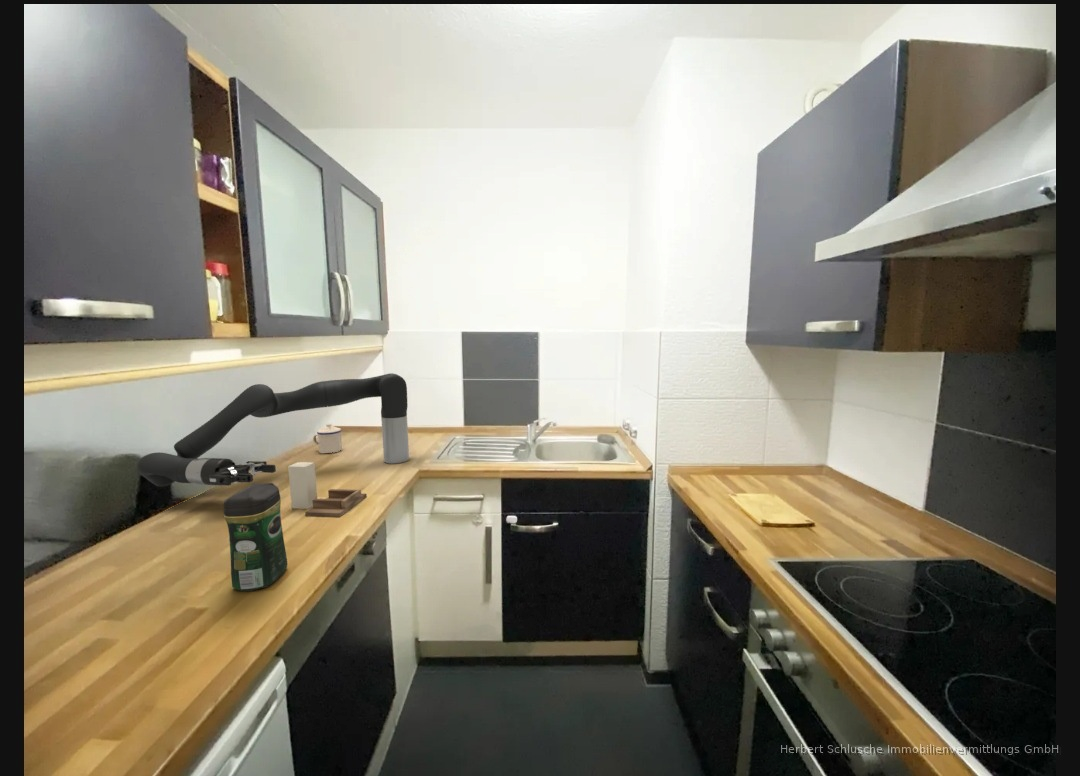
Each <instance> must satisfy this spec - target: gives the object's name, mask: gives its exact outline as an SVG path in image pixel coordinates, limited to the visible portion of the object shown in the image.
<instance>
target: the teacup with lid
mask: <svg viewBox="0 0 1080 776" xmlns="http://www.w3.org/2000/svg"><path fill="white" fill-rule="evenodd" d="M317 439H318V441H317ZM312 442H313V443H314V444H315V445H316V446H318V452H319V454H321V453H332V452H337V453H339V452H338V451H340V450H341V451H343V441H342V428H340V427H336V426H335V425H333V424H332V423H326V426H323V427H322V428H320V429H318V430H317V432H316V434H314V435H313V437H312ZM341 451H340V452H341ZM332 454H333V453H332Z"/></svg>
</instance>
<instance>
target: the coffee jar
mask: <svg viewBox="0 0 1080 776" xmlns="http://www.w3.org/2000/svg"><path fill="white" fill-rule="evenodd" d="M281 501H282V500H281V495H280V489H279V487H278V486H277V485H276V484H274V483H273V482H262V483H261V482H258V483H257V482H255V483H252V484H251V485H248V486H247V487H245V488H243V489H241V490H239V491H238V492H236V493H234V494H233V495H231V496H229V497H227V498H226V499H224V501H223V504H222V506H223V517H224V520H225V522H226V525H227V529H228V539H229V541H228V542H229V552H230V553H229V555H230V576H231V579H230V580H231V587H232V588H233V589H234V590H237V591H241V592H252V591H253V590H254V591H256V590H259V589H264V588H267V587H268V586H270V585H272V584H273V583H274V582H276V581H277V580H278V579H279V578H280V577H281V576H282V574H283V573H284V572H285V571H286V570H287V567H288V558H287V551H286V544H285V539H284V532H283V526H282V518H281V517H282V516H281Z"/></svg>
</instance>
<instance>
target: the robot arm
mask: <svg viewBox="0 0 1080 776" xmlns="http://www.w3.org/2000/svg"><path fill="white" fill-rule="evenodd" d="M407 385H408V384H407V382H406V380H405V378H403V377H402V376H401V375H399V374H396V373H393V372H391V373H386V374H381V375H376V376H371V377H368V378H347V379H346V378H344V379H343V378H342V379H330V380H322V381H321V380H320V381H318V382H314V383H311V384H309V385H306V386H304V387H301V388H298V389H296V390H293V391H286V392H284V391H283V392H274V390H273V389H272V387H270V386H269V385H266V384H261V383H260V384H257V383H256V384H253V385H251V386H249V387H247V388H246V389H245V390H243V391H242V392H240V394H239V395H237V396H236V397H235V398H234V399H233V400H232V401H231V402H230V403H228V404H227V405H226V406H225V407H224V408H223V409H222V410H220V411H219V412H218V413H217V414H216V415H214V416H213V417H212V418H210V419H209V420H208V421H206V422H205V423H204V424H202V425H201V426H199V427H198V428H196V429H194V431H192V432H190V433H189V434H187V435H186V436H184V437H182V438H181V439H180V440H178V441H177V442H176V443H175V444H174V445H173V449H174V451H175V452H176V455H175V454H171V453H167V452H151V453H148V454H145V455H143V456H141V458H139V459H138V461H137V463H136V466H135V468H136V471H137V473H138V474H139V475H141V476H142V477H143V478H144V479H146V480H147V481H148V482H150V483H151V484H153V485H154V486H155V487H166V486H169V485H171V484H174V483H175V482H177V483H179V484H180V483H181V484H196V485H201V486H203V485H204V486H205V485H206V486H231V485H232V484H239V483H248V484H250V483H252V482H253V481H254V478H253V477H254V476H255V475H256V474H259V473H261V474H262V473H264V474H266V473H268V474H269V473H270V474H274V473H275V472H276V471H277V470H276V469H277V468H276V465H275V464H267V461H263V460H262V461H260V460H258V461H256V460H254V461H250V460H249V461H246V463H242V462H241V463H235V462H234V461H233V460H232V459H230V458H224V457H223V458H219V457H218V458H217V457H203V458H202V457H201V456H202V455H204V454H205V453H207V452H209V451H210V450H211V449H213V448H214V447H215V446H217V444H219V443H220V442H221V441H222V440H223V439H224V438H225V437H226V436H227V434H228V433H229V432H230V431H231V430H232V429H233V428H235V426H236V425H238V423H240V422H241V421H242V420H244V419H245V418H247V417H249V416H251V417H255V418H261V419H262V418H268V417H273V416H277V415H283V414H286V413H291V412H296V411H304V410H313V409H314V410H315V409H320V408H328V407H329V408H331V407H336V406H337V407H338V406H343V405H347V404H350V403H353V402H357V401H360V400H364V399H368V398H369V399H370V398H380V399H381V400H380V401H381V407H380V408H381V410H380V417H381V419H380V420H381V435H382V452H383V453H382V454H383V455H382V456H383V462H384V463H385V462H386V464H401V463H405V462H407V461H409V460H410V452H409V451H410V445H409V432H408V431H409V430H408V428H409V426H408V416H407V415H408V387H407ZM200 457H201V458H200ZM250 471H251V472H250Z"/></svg>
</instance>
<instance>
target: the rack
mask: <svg viewBox="0 0 1080 776" xmlns="http://www.w3.org/2000/svg"><path fill="white" fill-rule="evenodd" d="M327 492H328V497H327V498H317V499H314V500H312V502H313V506H312V507H311V508H309V509H307V510H306V511H304V513H305V517H306V516H307V517H327V518H329V517H331V518H341V516H343V515H344V514H346V513H347V512H349V511H350V510H351V509H352V508H354V507H355V506H356V505H359V503H361V502H362V501H363V500H365V499H366V498H367V497H368V496H367V494H368V493H362V490H361V489H347V488H346V489H344V488H343V489H341V488H337V489H335V488H330V489H328V491H327Z"/></svg>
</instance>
